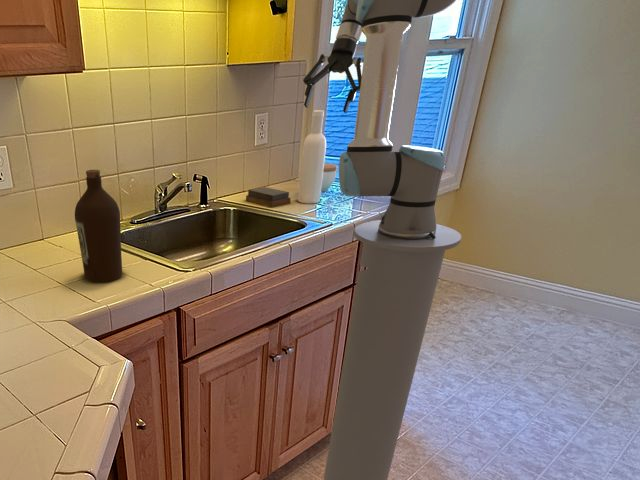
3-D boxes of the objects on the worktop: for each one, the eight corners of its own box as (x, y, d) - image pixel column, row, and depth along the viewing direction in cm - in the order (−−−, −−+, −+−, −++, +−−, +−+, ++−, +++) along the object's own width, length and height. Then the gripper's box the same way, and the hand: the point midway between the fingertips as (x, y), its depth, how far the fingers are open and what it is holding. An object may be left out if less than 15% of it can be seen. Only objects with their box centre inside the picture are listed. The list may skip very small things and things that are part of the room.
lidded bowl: (329, 185, 205) (332, 157, 200) (339, 192, 194) (343, 162, 189) (298, 187, 205) (301, 158, 200) (306, 193, 194) (309, 163, 189)
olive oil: (120, 266, 130) (111, 165, 118) (128, 280, 122) (120, 172, 109) (80, 271, 128) (66, 169, 116) (85, 286, 119) (71, 176, 107)
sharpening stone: (290, 203, 182) (291, 192, 180) (271, 207, 178) (272, 195, 176) (263, 197, 193) (264, 186, 191) (245, 200, 189) (246, 189, 187)
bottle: (312, 197, 188) (321, 109, 173) (324, 202, 182) (335, 110, 167) (293, 200, 186) (301, 110, 171) (305, 204, 180) (314, 111, 165)
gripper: (385, 50, 165) (362, 117, 169) (312, 44, 175) (292, 108, 180) (384, 39, 158) (360, 109, 163) (308, 33, 168) (287, 100, 173)
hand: (324, 108), depth 171 cm, fingers open, 13 cm apart
